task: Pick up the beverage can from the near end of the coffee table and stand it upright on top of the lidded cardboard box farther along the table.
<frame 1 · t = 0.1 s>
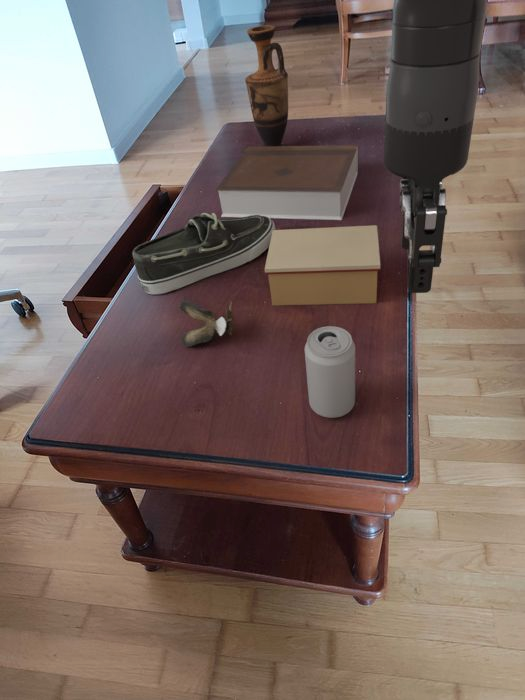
hand: (414, 267, 56), 22 cm above the table, tool pointing down, fingers open, 8 cm apart
book: (292, 194, 123), on the table
eagle figurine: (208, 336, 87), on the table
lidded cardboard box: (324, 284, 94), on the table
beverage can: (332, 404, 72), on the table
vase: (274, 153, 143), on the table
boat shoe: (212, 262, 104), on the table
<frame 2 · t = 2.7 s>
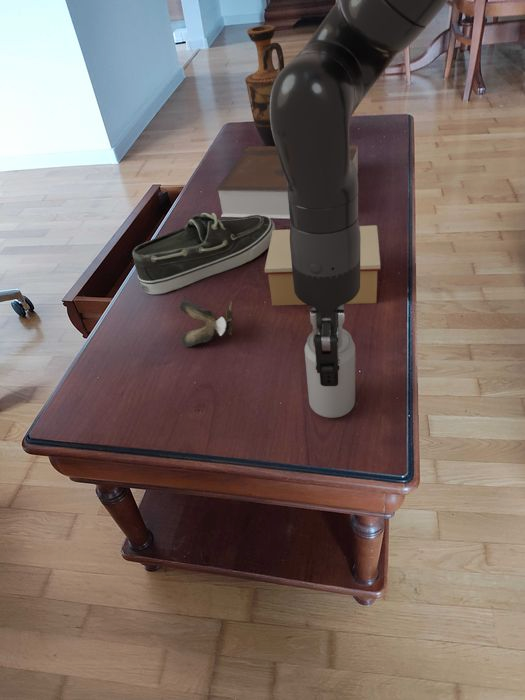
hand: (330, 364, 67), 8 cm above the table, tool pointing down, fingers closed on beverage can, 6 cm apart
beverage can: (332, 404, 72), on the table, touching gripper
everything else where it was.
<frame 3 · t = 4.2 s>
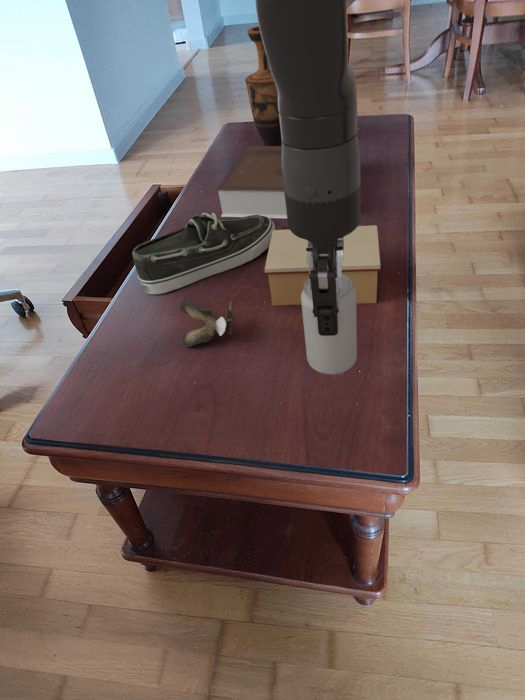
hand: (329, 314, 61), 16 cm above the table, tool pointing down, fingers closed on beverage can, 6 cm apart
beverage can: (332, 362, 67), point 8 cm above the table, touching gripper
everything else where it was.
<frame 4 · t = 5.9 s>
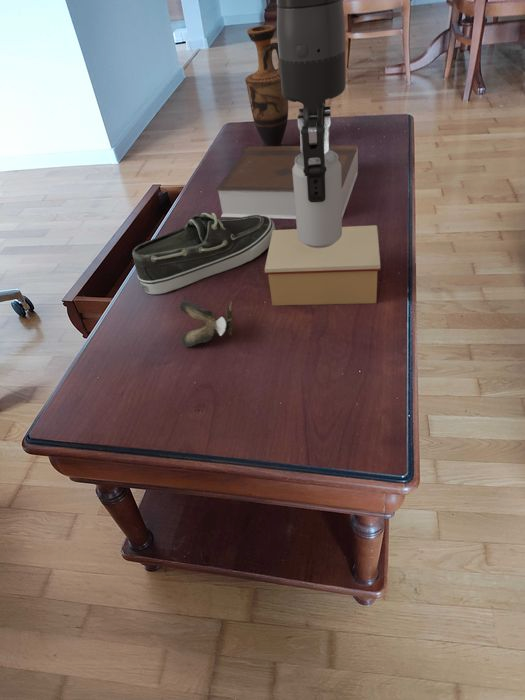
hand: (317, 188, 69), 24 cm above the table, tool pointing down, fingers closed on beverage can, 6 cm apart
beverage can: (319, 240, 74), point 16 cm above the table, touching gripper
everything else where it was.
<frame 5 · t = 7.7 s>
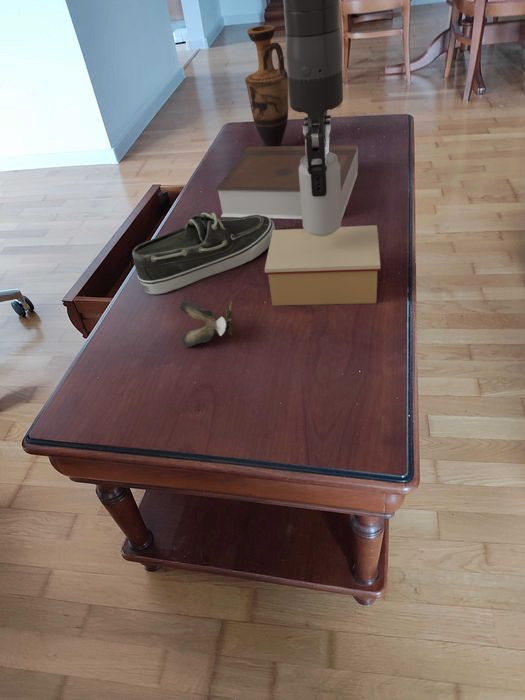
hand: (320, 185, 81), 19 cm above the table, tool pointing down, fingers closed on beverage can, 6 cm apart
beverage can: (322, 229, 86), point 11 cm above the table, touching gripper
everything else where it was.
when the fingers open (16 cm above the table, at t = 9.2 s): beverage can stays where it is, resting on lidded cardboard box.
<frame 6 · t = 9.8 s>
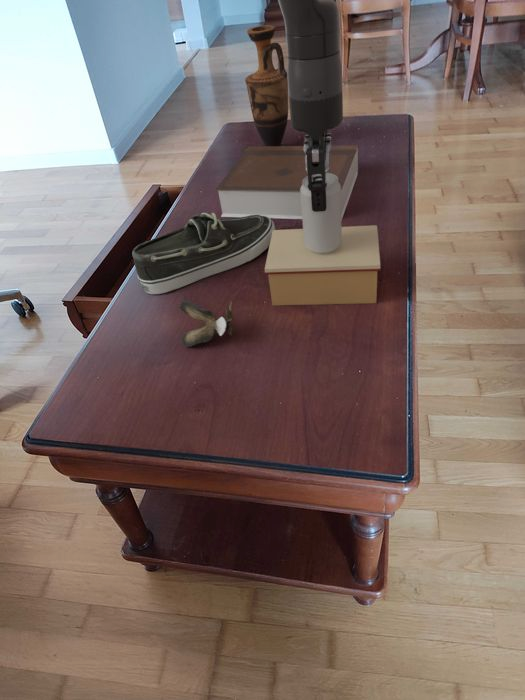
hand: (320, 197, 82), 17 cm above the table, tool pointing down, fingers open, 8 cm apart
beverage can: (323, 247, 88), point 8 cm above the table, touching lidded cardboard box
everything else where it was.
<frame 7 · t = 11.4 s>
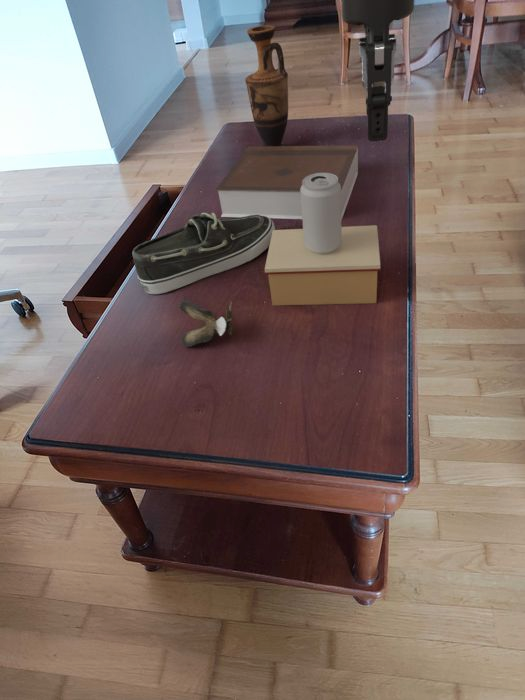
hand: (376, 127, 63), 31 cm above the table, tool pointing down, fingers open, 8 cm apart
nothing on the table moved.
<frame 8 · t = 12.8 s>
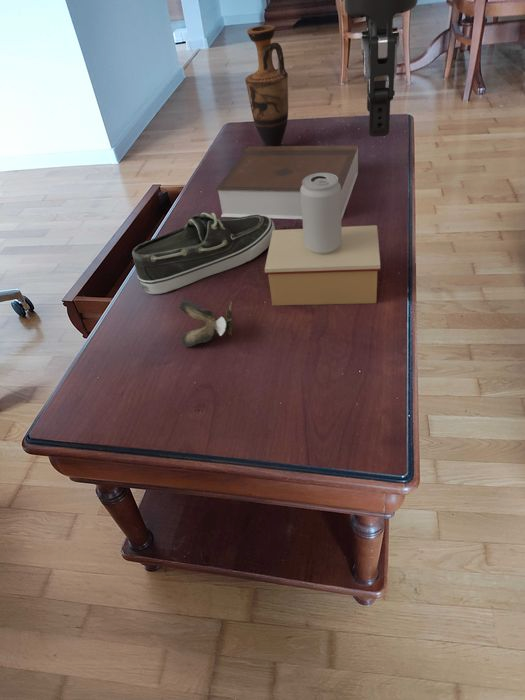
hand: (377, 122, 62), 32 cm above the table, tool pointing down, fingers open, 8 cm apart
nothing on the table moved.
at the end: beverage can inside the target area on the lidded cardboard box (0.1 cm from its centre), point 7.8 cm above the lidded cardboard box's base; beverage can tilted 0°; the gripper is holding nothing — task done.
